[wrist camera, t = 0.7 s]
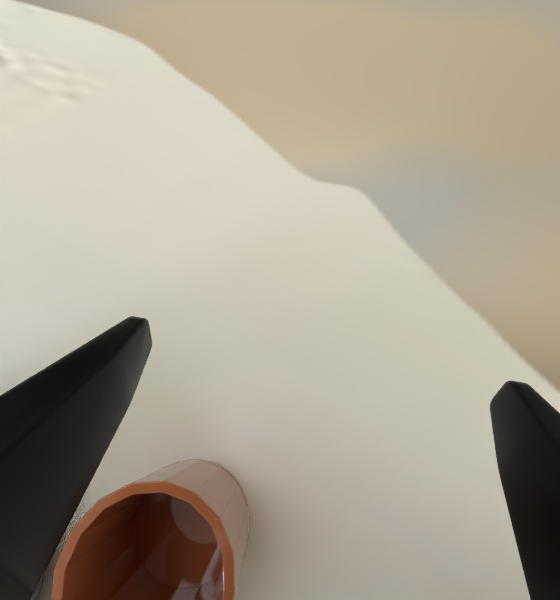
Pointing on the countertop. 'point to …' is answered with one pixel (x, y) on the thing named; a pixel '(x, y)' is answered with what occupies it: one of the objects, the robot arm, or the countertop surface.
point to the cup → (159, 539)
